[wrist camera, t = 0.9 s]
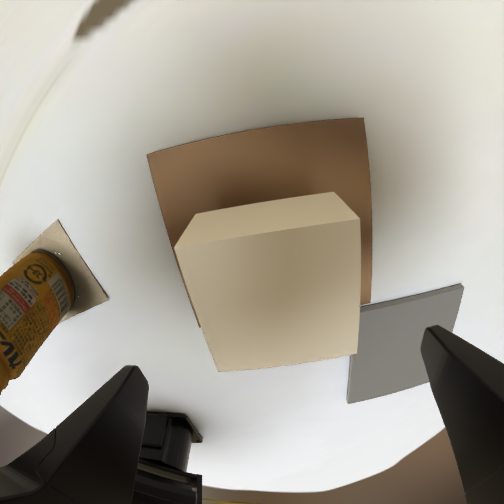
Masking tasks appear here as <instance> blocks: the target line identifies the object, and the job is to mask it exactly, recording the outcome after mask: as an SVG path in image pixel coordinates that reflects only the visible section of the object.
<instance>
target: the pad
mask: <svg viewBox="0 0 504 504" xmlns="http://www.w3.org/2000/svg"><path fill="white" fill-rule="evenodd" d="M463 290H464V287H463V286H462V285H461V284H457V285H454V286H450V287H446V288H442V289H438V290H435V291H431V292H426V293H422V294H418V295H414V296H410V297H405V298H401V299H397V300H392V301H387V302H383V303H378V304H373V305H368V306H363V307H360V319H359V335H358V348H357V354H352V355H351V358H350V371H349V382H348V392H347V403H348V404H351V403H355V402H360V401H364V400H368V399H373V398H377V397H381V396H384V395H388V394H392V393H395V392H399V391H402V390H406V389H409V388H412V387H415V386H418V385H421V384H424V383H427V382H429V378H428V375H427V371H426V368H425V365H424V361H423V358H422V355H421V351H420V346H421V342H422V338H423V334H424V331H425V329H426V327H429V326H432V325H440V326H441V327H443V328H445V329H447V330H448V331H450V332H452V331H453V328H454V324H455V321H456V317H457V314H458V310H459V306H460V303H461V299H462V295H463Z"/></svg>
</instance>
